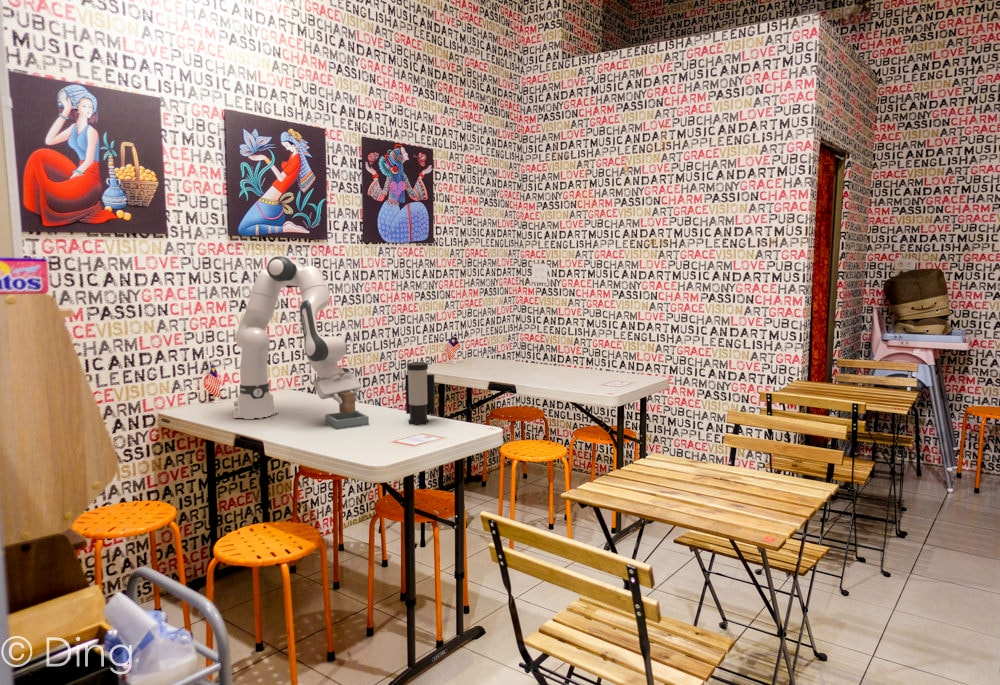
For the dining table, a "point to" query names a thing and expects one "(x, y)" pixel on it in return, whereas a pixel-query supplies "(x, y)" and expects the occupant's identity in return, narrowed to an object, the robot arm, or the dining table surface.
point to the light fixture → (419, 393)
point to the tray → (346, 419)
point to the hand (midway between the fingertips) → (347, 402)
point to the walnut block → (347, 402)
